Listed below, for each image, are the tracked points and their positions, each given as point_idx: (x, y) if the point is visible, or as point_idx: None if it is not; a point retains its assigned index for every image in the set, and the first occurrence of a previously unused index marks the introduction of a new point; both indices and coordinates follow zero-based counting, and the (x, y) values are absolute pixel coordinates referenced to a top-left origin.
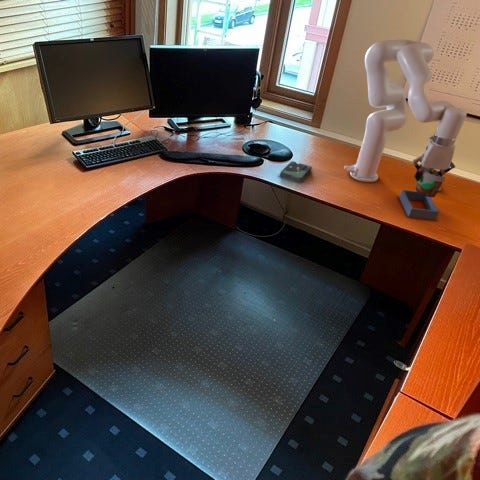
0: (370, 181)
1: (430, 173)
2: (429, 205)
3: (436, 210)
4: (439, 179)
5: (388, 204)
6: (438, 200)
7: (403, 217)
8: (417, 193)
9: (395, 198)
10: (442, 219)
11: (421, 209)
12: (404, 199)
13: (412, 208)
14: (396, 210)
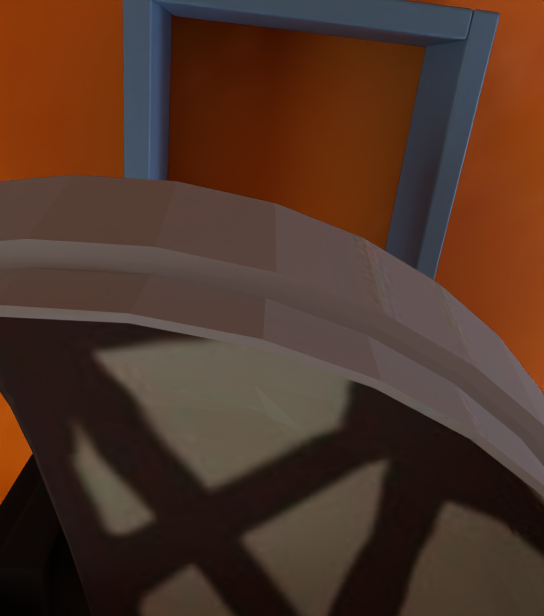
0: None
1: (394, 610)
2: None
3: (150, 6)
4: (186, 225)
5: (533, 277)
6: (10, 416)
7: (512, 7)
8: None
9: None
10: (57, 23)
11: (364, 8)
12: None
13: (485, 21)
14: (513, 165)
